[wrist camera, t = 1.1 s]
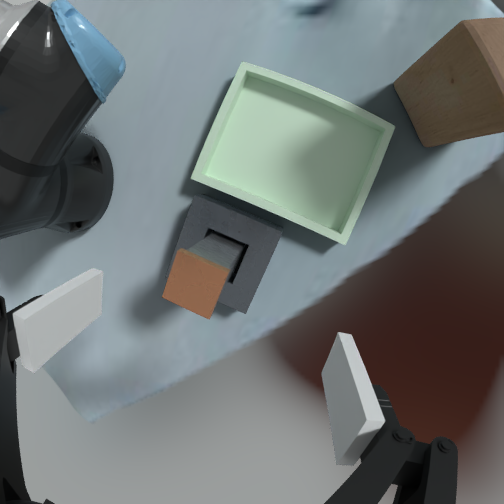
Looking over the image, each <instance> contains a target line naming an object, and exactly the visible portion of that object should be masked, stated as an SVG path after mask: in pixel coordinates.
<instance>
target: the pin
mask: <svg viewBox="0 0 504 504" xmlns="http://www.w3.org/2000/svg"><path fill="white" fill-rule="evenodd" d="M244 247H245V243H243V242H241V241H238V240H236V239H234V238H231V237H229V236H227V235H224V234H222V233H220V232H218V231H215V232H213V233H212V234H210V235H209V236H207V237H206V238H204V239H203V240H201V241H200V242H198V243H197V244H195V245H194V246H192V247H191V248H189V249H188V250H185V249H183V248H181V249H179V250H178V251H177V254H176V256H175V259H174V262H173V265H172V268H171V271H170V274H169V277H168V280H167V283H166V286H165V289H164V292H163V296H162V298H164V299H166V300H169V301H171V302H173V303H175V304H177V305H179V306H181V307H183V308H185V309H187V310H190V311H192V312H194V313H196V314H198V315H200V316H203V317H205V318H207V319H210V317H211V316H212V314H213V311H214V309H215V306H216V304H217V301H218V299H219V296H220V294H221V292H222V290H223V288H224V287H225V285H226V283H227V282H228V280H229V278H230V277H231V275H232V273H233V272H234V270H235V268H236V266H237V263H238V261H239V259H240V256H241V254H242V252H243V249H244Z"/></svg>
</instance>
